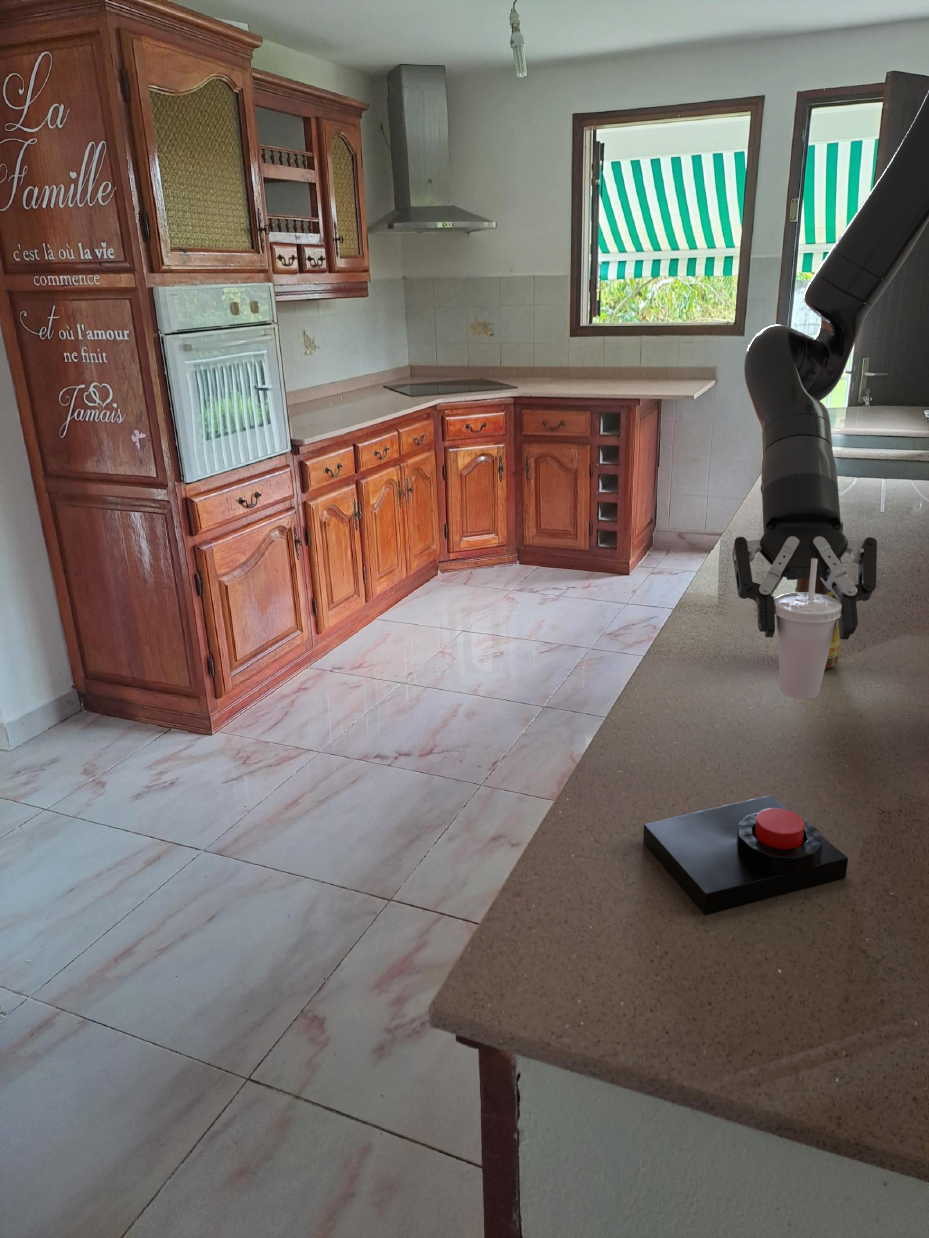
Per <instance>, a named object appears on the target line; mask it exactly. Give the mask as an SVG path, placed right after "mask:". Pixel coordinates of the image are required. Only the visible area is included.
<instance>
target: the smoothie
mask: <svg viewBox="0 0 929 1238" xmlns="http://www.w3.org/2000/svg"><path fill="white" fill-rule="evenodd" d="M817 560H818V559H815V558H813V559H811V570H810V582H809V593H808V592H795V591H794V592H788V593H783V594H780V595H779V596H776V597H774V613H775V624H776V639H777V653H778V654H777V655H778V668H779V669H778V670H779V671H778V672H779V686H780V687H779V688H780V692H781V693H782V694H783V695H784V696H787V697H790V698H793V699H797V700H809V699H814V698H817V696H819V694H820V690H821V687H822V682H823V678H824V674H825V671H826V669H825V666H826V662H827V658H828V654H829V650H830V646H831V642H832V637H833V633H834V630H835V625H836V621H837V619H838V618H840V616H841V615H842V614H841V608H842V605H841V603H840V602H839V601H838V600H836V599H835V598H832V597H830V596H827V595H822V594H817V593H815V582H816V571H817Z"/></svg>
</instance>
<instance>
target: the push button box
mask: <svg viewBox="0 0 929 1238" xmlns="http://www.w3.org/2000/svg"><path fill="white" fill-rule="evenodd" d="M770 808H779V809H785V810H789V811H792V809H790V808H789V807H787V806H786V804H784V803H783V802H782V801H781V800H779V798H777V797H776V796H775V795H773V794H769V795H764V796H761V797H755V798H752V799H747V800H743V801H739V802H734V803H729V804H725V805H721V806H717V807H712V808H708V809H704V810H699V811H695V812H694V811H693V812H691V813H686V814H682V815H677V816H673V817H669V818H664V819H660V820H656V821H652V822H647V823H644V824H643V835H642V836H643V838H642V839H643V842H642V843H643V845H644V847H646V849H647V850H648V851H649V852H650V853H651V854H652V856H653V857H654V858H655V859H656V860H657V862H659V864H660V865H661V866H662V867H663V869H664V870H665V871H666V872H667V874H669V876H670V877H671V878H672V879H673V880H674V881H675V883H676V884H677V885H678V886H679V887H680V889H682V891H683V892H684V893H685V894H686V895H687V897H688V898H689V899H690V900H691V901H692V903H693V904H694V905H695V906H696V907H697V909H699V911H700V912H701V913H702V914H703V915H704V916H709V915H711V914H716V913H719V912H723V911H727V910H730V909H735V908H739V907H743V906H746V905H750V904H754V903H756V902H761V901H765V900H768V899H772V898H776V897H781V896H784V895H788V894H792V893H796V892H800V891H803V890H807V889H810V888H814V887H818V886H822V885H826V884H830V883H834V882H837V881H841V880H844V879H846V878H847V870H848V864H849V863H848V862H849V857H848V856H846V855H845V854H844V853H843V852H842V851H841V850H840V849H839V848H837V847H836V846H834V844H832V843H831V842H830V841H829V840H828V839H826V838H825V837H824V836H823V835H821V831H820V830H819V829H817V828H816V827H815V826H814V825H813V824H811V823H810V822H809V821H808V820H806V819H804V818H802V819H803V821H804V823H805V827H804V837H803V843H802V845H801V846H800V847H798V848H794V849H790V850H787V849H775V848H772V847H770V846H767V845H765V844H762V843H760V842H759V841H758V840H757V839H756V837H755V828H756V817H757V814H758V813H759V812H761V811H763V810H765V809H770Z"/></svg>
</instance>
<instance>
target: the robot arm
mask: <svg viewBox="0 0 929 1238" xmlns="http://www.w3.org/2000/svg"><path fill="white" fill-rule="evenodd" d="M928 223H929V90H928V92H927V94H926V96H925V97H924V100H923V102H922V104H921V106H920V108H919V110H918V112H917V114H916V116H915V118H914V120H913V122H912V123H911V125H910V127H909V129H908V131H907V132H906V134H905V136H904V138H903V139H902V141H901V142H900V145H899V146H898V148H897V150H896V151H895V153H894V155H893V157H892V158H891V160H890V161H889V163H888V164H887V166H886V168H885V169H884V171H883V173H882V174H881V176H880V177H879V179H878V180H877V182H876V183H875V185H874V186H873V188H872V189H871V191H870V192H869V194H868V195H867V196H866V198H865V199H864V201H863V203H862V204H861V205H860V206H859V208H858V210H857V211H856V212H855V214H854V216H852V218H851V219H850V221H849V223H848V224H847V226H846V227H845V228H844V230H843V232H842V233H841V234H840V236H839V237H838V238H837V241H835V243H834V245H833V246H832V248H831V249H830V251H829V252H828V254H827V255H826V257H825V259H824V260H823V262H821V264H820V267H819V268H818V269H817V271H816V272H815V273H814V275H813V277H812V279H811V280H810V282H809V283H808V284H807V286H806V289H805V291H804V294H803V295H804V296H803V298H804V299H803V300H804V302H805V305H807V307H808V308H809V309H810V310H811V311H812V312H813V313H814V314H816V315H817V316H818V317H820V324H819V329H818V332H817V334H816V336H815V337H812V336H810V335H808V334H805V333H803V332H802V331H799V330H797V329H795V328H793V327H791V326H787V325H782V324H773V325H770V326H767V327H765V328H763V329H762V330H761V331H759V332H758V333H757V334H756V335H755V336H754V337H753V339H752V341H751V342H750V343H749V345H748V348H747V350H746V353H745V357H744V363H743V366H744V367H743V373H744V380H745V384H746V388H747V391H748V394H749V397H750V400H751V402H752V406H753V408H754V411H755V414H756V416H757V419H758V421H759V423H760V426H761V438H762V439H761V440H762V464H761V465H762V466H761V477H760V478H761V479H760V480H761V484H760V494H761V501H762V503H761V504H762V527H763V529H762V530H763V534H762V536H761V538H760V539H754V540H747V539H746V538H745V537H744V536H737V537H736V538H735V539H734V543H733V547H732V551H731V552H732V553H731V555H732V561H733V568H734V575H735V582H736V590H737V591H736V592H737V596H738V597H739V598H740V599H743V600H745V599H749V600H752V601H754V602H755V603H756V608H757V609H756V612H757V615H756V616H757V628H758V630H759V633H761V632H762V633H764V638H773V637H774V635H775V631H776V614H775V613H774V599H775V596H774V595H773V594H774V593H775V591H776V590H777V588H778V587H779V586H780V584H781V582H782V580H783V579H784V578H786V580H787V581H797V579H801V578H804V579H808V580H810V570H811V559H813V558H815V559H818V560H817V571H816V580H819V579H821V580H822V582H823V583H824V585H825V586H826V588H827V589H828V590H831V591H832V593H833V594H834V595H835V597H836V598H837V600H838V601H839V602H840V603H841V605H842V608H841V614H842V615H841V616H840V618H838V624H839V637H840V639H841V640H847V641H848V640H849V639H850V638H851V635H854V634H855V631H856V630H857V628H858V625H859V619H858V607H857V602H859V601H861V602H866V601H868V600H870V599H871V597H872V594H873V592H875V590H876V588H877V570H878V569H877V566H878V565H877V564H878V563H877V562H878V541H877V539H876V538H874V537H872V536H869V537H866V538H865V539H864V540H863V541H861V540H850V539H848V538H847V537H846V536H845V534H844V532H842V530H841V521H842V518H841V507H840V494H839V493H840V492H839V481H838V470H837V469H838V468H837V463H836V459H835V455H834V450H833V440H832V439H833V438H832V428H831V427H832V425H831V419H830V414H829V411H828V410H829V409H827V407H826V406H825V404H823V403H822V402H821V401H822V400H823V399H825V398H826V397H827V396H829V395H830V394H831V393H832V392H833V391H834V390H835V388H836V387H837V385H838V383H839V382H840V381H841V378H842V376H843V374H844V371H845V369H846V366H847V364H848V362H849V358H850V357H851V354H852V351H853V349H854V346H855V344H856V341H857V339H858V337H859V334H860V332H861V329H862V326H863V324H864V322H865V319H866V318H867V316H868V314H869V312H870V311H871V310H872V309H873V307H874V305H875V304H876V303H877V302H878V300H879V298H880V297H881V296H882V294H883V293H884V292H885V291H886V289H887V287H888V286H889V285H890V283H891V282H892V281H893V279H894V277H895V276H896V274H897V273H898V271H899V270H900V269H901V267H902V266H903V264H904V263H905V261H906V259H907V258H908V256H909V255H910V253H911V252H912V250H913V248H914V247H915V245H916V243H917V241H918V240H919V238H920V237H921V235H922V234H923V232H924V230H925V228H926V226H927V224H928ZM757 553H760V555H762V556H763V558H764V559H765V560H766V561H767V563H768V564H769V565H770V568H769V569H768V572H767V573H766V575H765V576H764V579H763V581H762V582H761V583H758V582H755V581H753V575H752V568H751V563H752V562H753V561H754V560H755V558H756V554H757ZM845 553H847V554H849V555H850V557H851V560H852V562H853V563H854V564H858V567H857V584H854V582H853V581H852V580H851V578H850V577H849V576H848V573H847V570H846V568H845V566H844V565H843V563H842V564H841V562H842V561H841V562H840V561H839V559H840V558H841V559H842V557H843V556H844V554H845Z"/></svg>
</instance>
